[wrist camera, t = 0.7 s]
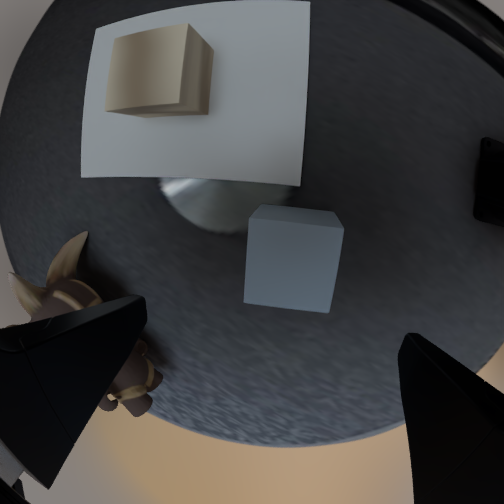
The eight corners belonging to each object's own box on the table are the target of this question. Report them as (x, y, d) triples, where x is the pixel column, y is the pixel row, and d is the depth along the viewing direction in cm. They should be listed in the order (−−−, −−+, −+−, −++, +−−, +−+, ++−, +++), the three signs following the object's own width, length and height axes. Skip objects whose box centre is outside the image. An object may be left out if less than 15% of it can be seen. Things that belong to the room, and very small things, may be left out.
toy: (138, 374, 28) (49, 271, 25) (188, 347, 26) (86, 225, 23) (100, 446, 18) (-19, 319, 15) (154, 433, 16) (3, 268, 13)
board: (310, 4, 14) (310, 1, 14) (300, 185, 19) (300, 186, 18) (98, 30, 17) (96, 28, 16) (84, 176, 21) (81, 177, 21)
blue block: (334, 211, 19) (344, 228, 14) (323, 279, 21) (328, 313, 16) (261, 203, 20) (248, 217, 15) (256, 271, 21) (243, 302, 17)
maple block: (214, 50, 16) (188, 22, 12) (208, 114, 18) (178, 102, 13) (151, 57, 17) (114, 38, 12) (144, 118, 19) (104, 111, 14)
